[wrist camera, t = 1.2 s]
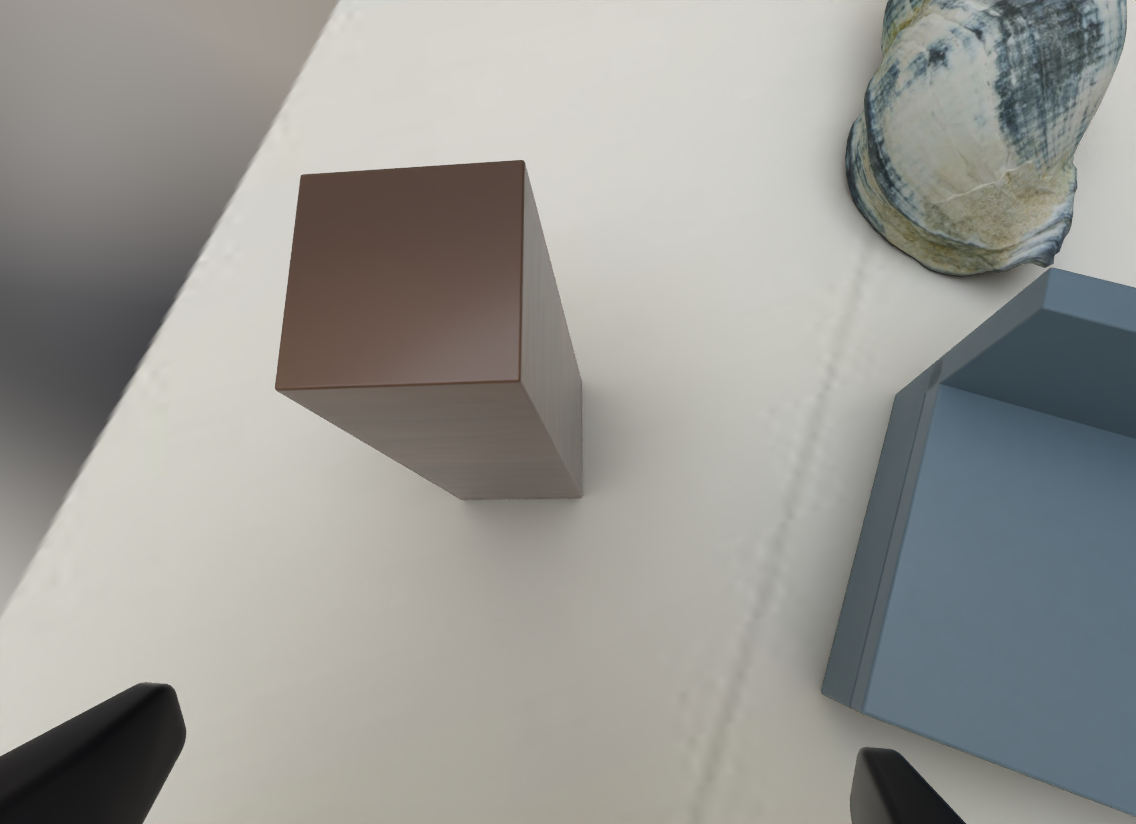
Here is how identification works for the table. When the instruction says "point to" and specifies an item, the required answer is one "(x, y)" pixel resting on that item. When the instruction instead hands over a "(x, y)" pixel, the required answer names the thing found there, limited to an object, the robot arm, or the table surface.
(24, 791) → the robot arm
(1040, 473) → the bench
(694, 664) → the table surface
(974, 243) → the seashell
